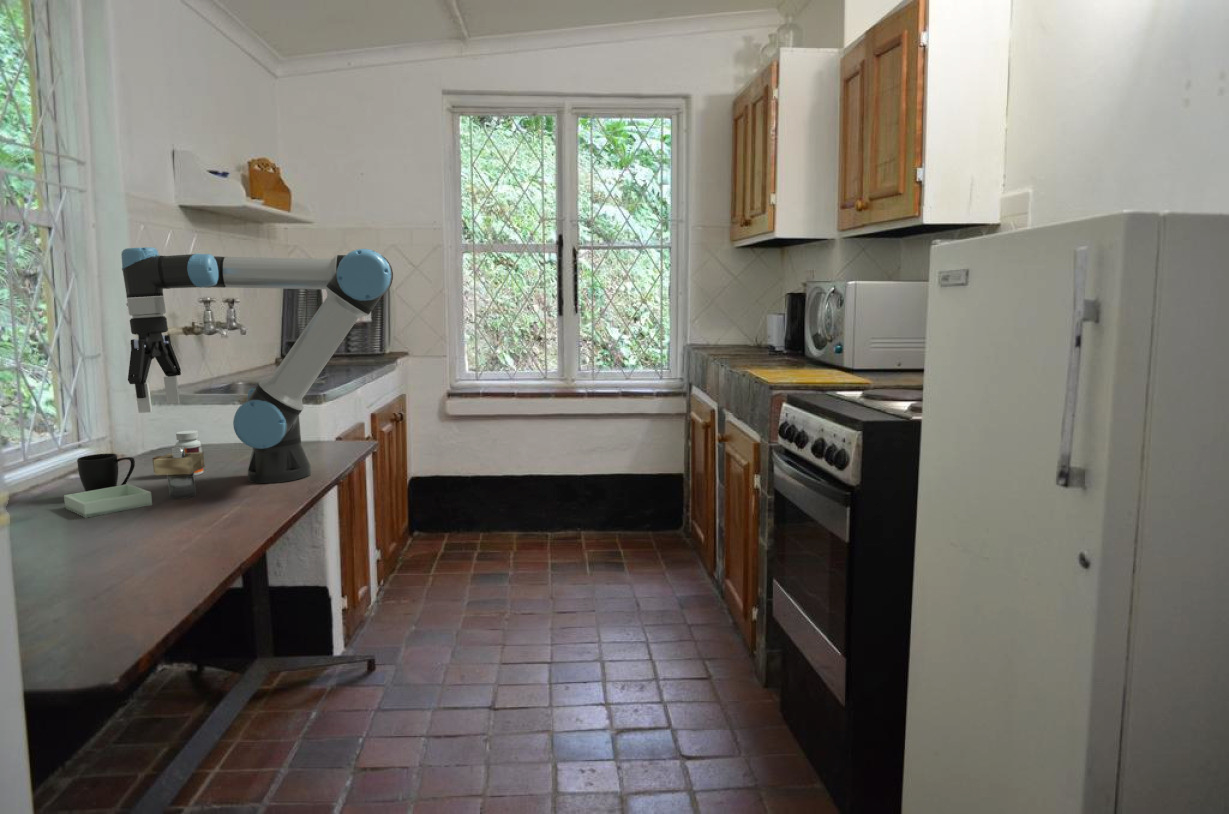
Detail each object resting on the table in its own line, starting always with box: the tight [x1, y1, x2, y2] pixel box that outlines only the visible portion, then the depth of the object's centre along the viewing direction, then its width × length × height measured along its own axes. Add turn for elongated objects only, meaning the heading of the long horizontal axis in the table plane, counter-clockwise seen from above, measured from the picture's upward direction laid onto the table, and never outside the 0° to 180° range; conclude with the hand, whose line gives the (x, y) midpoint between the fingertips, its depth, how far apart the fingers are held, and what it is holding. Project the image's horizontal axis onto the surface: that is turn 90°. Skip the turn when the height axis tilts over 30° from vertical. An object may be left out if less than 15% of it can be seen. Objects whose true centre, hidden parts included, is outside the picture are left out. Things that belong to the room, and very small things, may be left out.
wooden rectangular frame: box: [152, 451, 206, 476], centre depth 207 cm, size 10×8×4 cm
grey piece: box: [166, 447, 197, 500], centre depth 207 cm, size 6×6×12 cm
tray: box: [63, 483, 153, 519], centre depth 199 cm, size 14×14×3 cm
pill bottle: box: [174, 429, 204, 477], centre depth 231 cm, size 6×6×11 cm
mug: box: [76, 453, 136, 492], centre depth 210 cm, size 8×12×10 cm
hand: (160, 407), depth 205 cm, fingers open, 13 cm apart
